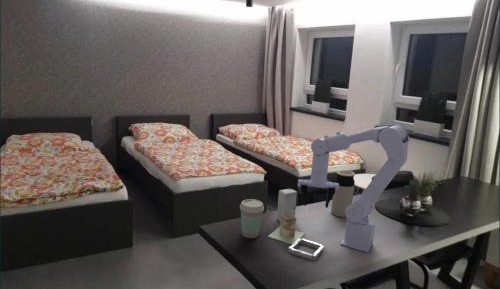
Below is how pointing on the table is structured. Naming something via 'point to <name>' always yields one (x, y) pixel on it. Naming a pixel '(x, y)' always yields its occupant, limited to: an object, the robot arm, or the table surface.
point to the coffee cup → (251, 217)
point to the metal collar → (304, 254)
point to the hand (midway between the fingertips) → (315, 205)
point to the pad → (279, 237)
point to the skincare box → (286, 202)
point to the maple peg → (287, 225)
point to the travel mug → (343, 192)
